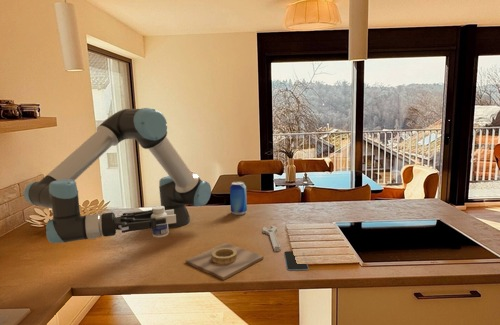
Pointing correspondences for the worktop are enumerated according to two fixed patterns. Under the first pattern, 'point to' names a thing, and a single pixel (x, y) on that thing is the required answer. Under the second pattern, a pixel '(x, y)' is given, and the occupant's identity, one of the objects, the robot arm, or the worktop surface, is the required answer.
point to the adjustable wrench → (272, 237)
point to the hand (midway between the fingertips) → (174, 215)
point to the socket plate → (224, 268)
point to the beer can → (238, 198)
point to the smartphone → (293, 262)
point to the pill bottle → (160, 229)
